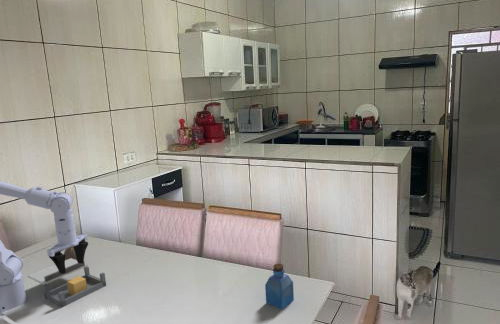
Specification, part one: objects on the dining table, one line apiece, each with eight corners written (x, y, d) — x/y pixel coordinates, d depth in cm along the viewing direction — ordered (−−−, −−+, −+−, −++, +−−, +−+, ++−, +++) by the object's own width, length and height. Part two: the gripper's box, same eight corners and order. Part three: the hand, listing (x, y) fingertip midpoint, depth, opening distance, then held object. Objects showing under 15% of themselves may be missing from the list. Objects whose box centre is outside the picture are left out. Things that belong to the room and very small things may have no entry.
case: (62, 309, 124) (60, 293, 123) (45, 300, 130) (42, 285, 129) (106, 287, 137) (104, 273, 136) (88, 280, 143) (86, 266, 142)
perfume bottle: (277, 294, 126) (276, 259, 123) (293, 300, 122) (292, 264, 120) (266, 303, 121) (264, 267, 119) (282, 309, 117) (280, 272, 115)
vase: (61, 266, 156) (57, 246, 155) (75, 259, 162) (72, 239, 161) (72, 269, 153) (69, 248, 152) (87, 262, 159) (84, 242, 157)
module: (75, 297, 130) (73, 284, 129) (68, 293, 132) (66, 281, 131) (87, 291, 133) (85, 278, 132) (80, 288, 136) (78, 275, 135)
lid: (43, 284, 129) (42, 278, 129) (27, 277, 135) (26, 271, 135) (87, 265, 142) (86, 260, 141) (71, 259, 148) (70, 254, 148)
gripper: (56, 238, 120) (62, 279, 123) (91, 223, 133) (96, 260, 136) (40, 236, 123) (46, 276, 126) (76, 221, 136) (81, 257, 139)
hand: (71, 267), depth 131 cm, fingers open, 7 cm apart
